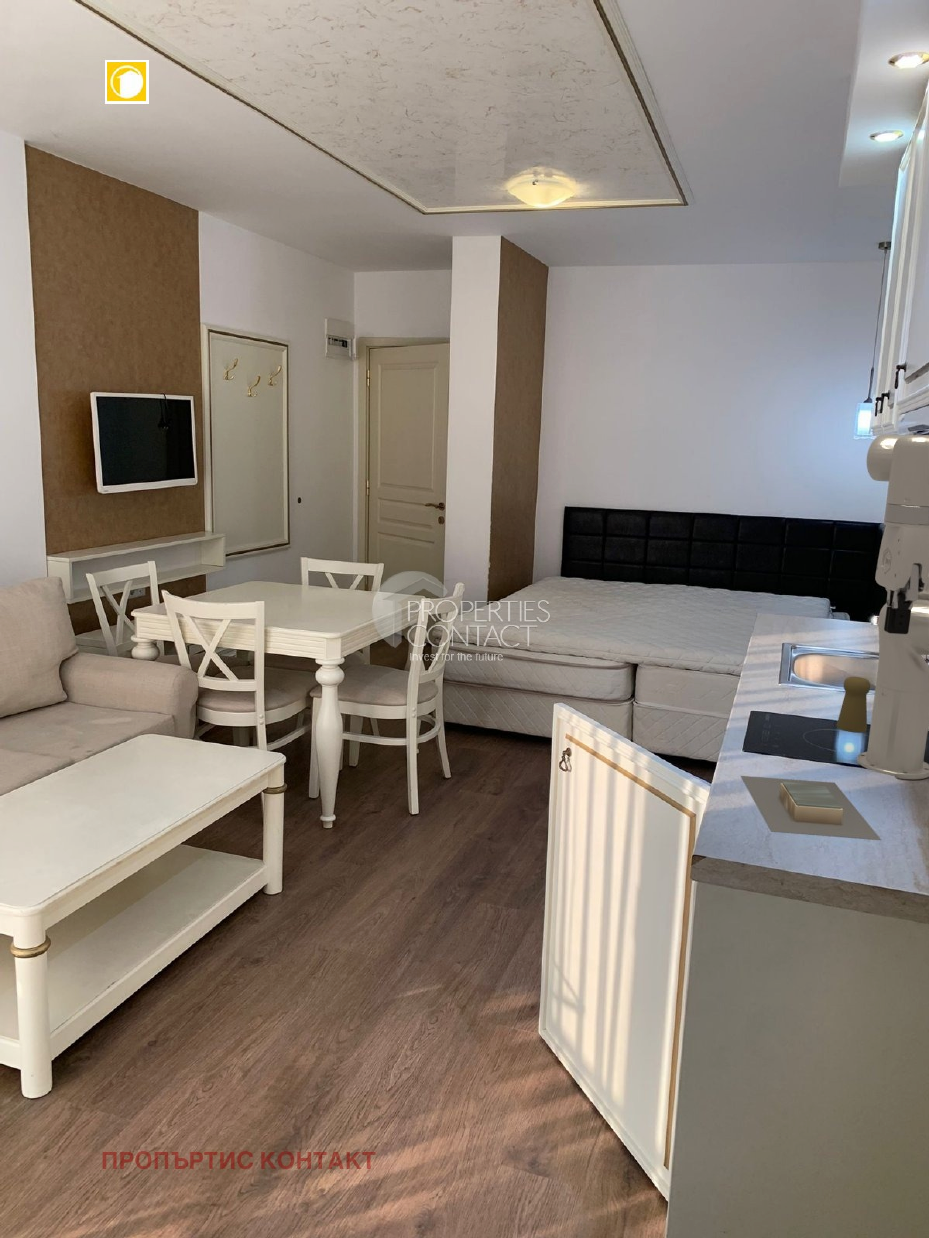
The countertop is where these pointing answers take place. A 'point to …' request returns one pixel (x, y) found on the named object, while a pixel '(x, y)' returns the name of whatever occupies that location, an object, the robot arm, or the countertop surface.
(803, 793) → the card box
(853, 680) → the olive brown pepper mill
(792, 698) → the countertop surface
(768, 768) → the countertop surface
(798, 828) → the mat
